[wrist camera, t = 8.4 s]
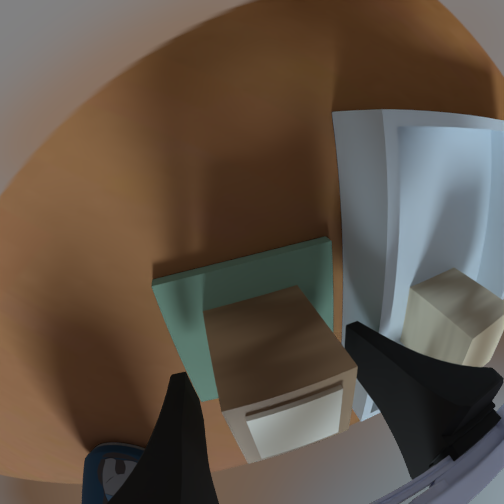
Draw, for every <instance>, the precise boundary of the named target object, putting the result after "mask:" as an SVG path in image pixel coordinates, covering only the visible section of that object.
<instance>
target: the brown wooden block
mask: <svg viewBox="0 0 504 504" xmlns="http://www.w3.org/2000/svg"><path fill="white" fill-rule="evenodd" d="M203 317H204V323H205V329H206V335H207V340H208V346H209V351H210V357H211V362H212V367H213V372H214V378H215V383H216V387H217V392H218V397H219V402H220V406H221V411H222V414H223V416H224V418H225V420H226V422H227V424H228V426H229V428H230V430H231V432H232V434H233V436H234V438H235V440H236V441H237V443H238V445H239V447H240V449H241V451H242V453H243V455H244V457H245V458H246V460H247V462H248V464H249V463H253V462H257V461H261V460H264V459H268V458H271V457H275V456H278V455H282V454H285V453H288V452H291V451H294V450H297V449H300V448H303V447H306V446H308V445H311V444H314V443H316V442H319V441H321V440H324V439H327V438H329V437H332V436H334V435H337V434H339V433H341V432H344V431H346V430H348V428H349V423H350V417H351V411H352V405H353V399H354V392H355V385H356V377H357V369H358V366H357V365H356V363H355V362H354V360H353V359H352V358H351V356H350V355H349V354H348V352H347V351H346V350H345V348H344V347H343V346H342V344H341V343H340V341H339V340H338V339H337V337H336V336H335V335H334V333H333V332H332V331H331V329H330V328H329V327H328V325H327V324H326V323H325V321H324V320H323V319H322V317H321V316H320V315H319V313H318V312H317V311H316V309H315V308H314V307H313V305H312V304H311V303H310V301H309V300H308V299H307V297H306V296H305V295H304V293H303V292H302V291H301V289H300V288H299V287H298V285H295V286H292V287H288V288H285V289H282V290H278V291H275V292H271V293H268V294H264V295H261V296H257V297H254V298H250V299H246V300H243V301H239V302H235V303H232V304H228V305H224V306H221V307H217V308H213V309H209V310H205V311H203Z"/></svg>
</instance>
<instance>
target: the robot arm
mask: <svg viewBox="0 0 504 504" xmlns="http://www.w3.org/2000/svg"><path fill="white" fill-rule="evenodd" d="M345 350H346V351H347V352H348V354H349V355H350V356H351V358H352V359H353V360H354V362H355V363H356V365H357V366H358V369H357V377H356V378H357V380H358V381H359V382H360V384H361V385H362V387H363V388H364V389H365V391H366V392H367V393H368V395H369V396H370V397H371V399H372V400H373V402H374V403H375V404H376V406H377V407H378V409H379V410H380V412H381V413H382V415H383V417H384V419H385V420H386V422H387V424H388V426H389V428H390V430H391V432H392V434H393V436H394V438H395V440H396V442H397V444H398V446H399V449H400V451H401V453H402V455H403V458H404V460H405V463H406V466H407V468H408V471H409V474H410V477H411V478H412V481H410V482H408V483H407V484H405V485H403V486H402V487H400V488H398V489H396V490H395V491H393V492H391V493H389V494H387V495H385V496H383V497H382V498H380V499H378V500H376V501H374V502H372V503H370V504H399V503H401V502H403V501H405V500H406V499H408V498H410V497H411V496H413V495H415V494H416V493H418V492H419V491H421V490H423V489H424V488H426V487H427V486H429V485H430V484H431V485H430V487H429V489H428V490H426V491H425V492H423V493H422V494H420V495H419V496H417V497H416V498H414V499H413V500H412V501H411V502H410V503H409V504H468V503H469V502H470V501H471V500H472V499H473V498H474V497H475V496H476V495H477V494H479V493H480V492H481V491H482V490H483V489H484V488H485V487H486V486H487V485H488V484H489V483H490V482H491V481H492V480H493V479H494V478H495V477H496V476H497V474H498V473H499V472H500V471H501V470H502V469H503V468H504V404H503V405H502V406H501V407H500V408H499V409H498V411H497V412H496V411H495V410H494V409H493V408H494V407H495V404H494V403H493V402H492V400H493V399H494V397H495V396H496V394H497V393H498V391H499V389H500V388H501V386H502V384H503V378H502V376H500V375H499V374H498V373H497V372H496V371H495V370H494V369H493V368H487V367H472V366H465V365H459V364H454V363H450V362H446V361H442V360H438V359H435V358H432V357H429V356H426V355H423V354H421V353H418V352H416V351H414V350H411V349H409V348H407V347H405V346H403V345H400V344H398V343H396V342H395V341H393V340H391V339H389V338H387V337H385V336H383V335H382V334H380V333H378V332H376V331H374V330H373V329H371V328H369V327H368V326H366V325H364V324H362V323H360V322H359V321H355V322H353V323H350V324H347V325H346V330H345ZM106 504H219V503H218V499H217V495H216V492H215V488H214V485H213V481H212V477H211V473H210V468H209V463H208V455H207V446H206V437H205V428H204V419H203V414H202V410H201V405H200V400H199V398H198V396H197V394H196V392H195V390H194V388H193V386H192V384H191V382H190V380H189V378H188V376H187V373H186V372H182V373H177V374H172V375H171V377H170V381H169V385H168V389H167V393H166V396H165V400H164V403H163V406H162V409H161V412H160V415H159V418H158V420H157V423H156V425H155V428H154V430H153V433H152V435H151V438H150V440H149V442H148V444H147V446H146V448H145V450H144V452H143V454H142V456H141V457H140V459H139V461H138V463H137V464H136V466H135V467H134V469H133V471H132V472H131V473H130V475H129V476H128V478H127V479H126V480H125V482H124V483H123V485H122V486H121V487H120V488H119V490H118V491H117V492H116V493H115V494H114V495H113V497H112V498H111V499H110V500H109V501H108V502H107V503H106Z"/></svg>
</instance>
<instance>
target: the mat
mask: <svg viewBox="0 0 504 504" xmlns="http://www.w3.org/2000/svg"><path fill="white" fill-rule="evenodd" d="M295 285H298V287H299V288H300V289H301V291H302V292H303V293H304V295H305V296H306V297H307V299H308V300H309V301H310V303H311V304H312V305H313V307H314V308H315V309H316V311H317V312H318V313H319V315H320V316H321V317H322V319H323V320H324V321H325V323H326V324H327V325H328V327H329V328H330V329H331V331H332V332H333V265H332V241H331V240H330V239H328V238H327V237H326V236H325V237H321V238H317V239H313V240H309V241H305V242H301V243H297V244H293V245H289V246H285V247H281V248H277V249H273V250H269V251H265V252H261V253H257V254H253V255H249V256H245V257H241V258H237V259H233V260H229V261H225V262H221V263H217V264H213V265H209V266H205V267H201V268H197V269H193V270H189V271H185V272H181V273H177V274H173V275H169V276H165V277H161V278H157V279H153V280H152V289H153V292H154V294H155V297H156V300H157V302H158V305H159V307H160V310H161V313H162V315H163V318H164V320H165V323H166V325H167V327H168V330H169V332H170V335H171V337H172V339H173V342H174V344H175V346H176V349H177V351H178V353H179V355H180V358H181V360H182V362H183V364H184V366H185V369H186V371H187V373H188V375H189V377H190V379H191V381H192V384H193V386H194V388H195V390H196V392H197V394H198V396H199V398H200V400H201V402H203V401H208V400H212V399H216V398H219V397H218V392H217V387H216V383H215V378H214V372H213V367H212V362H211V357H210V351H209V346H208V340H207V335H206V329H205V323H204V317H203V311H205V310H209V309H213V308H217V307H221V306H224V305H228V304H232V303H235V302H239V301H243V300H246V299H250V298H254V297H257V296H261V295H264V294H268V293H271V292H275V291H278V290H282V289H285V288H288V287H292V286H295Z"/></svg>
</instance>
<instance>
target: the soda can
mask: <svg viewBox="0 0 504 504" xmlns="http://www.w3.org/2000/svg"><path fill="white" fill-rule="evenodd" d="M144 450H145V448H142V447H139V446H136V445H131V444H126V443H115V442H112V443H103V444H100V445H98V446H96V447H95V448H94V449H93V450H92V451H91V452H90V453H89V454H88V455H87V457H86V458H85V461H84V473H83V489H82V504H106V503H107V502H108V501H109V500H110V499H111V498H112V497H113V495H114V494H115V493H116V492H117V491H118V490H119V488H120V487H121V486H122V485H123V483H124V482H125V480H126V479H127V478H128V476H129V475H130V473H131V472H132V471H133V469H134V467H135V466H136V464H137V463H138V461H139V459H140V457H141V456H142V454H143V452H144Z"/></svg>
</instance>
